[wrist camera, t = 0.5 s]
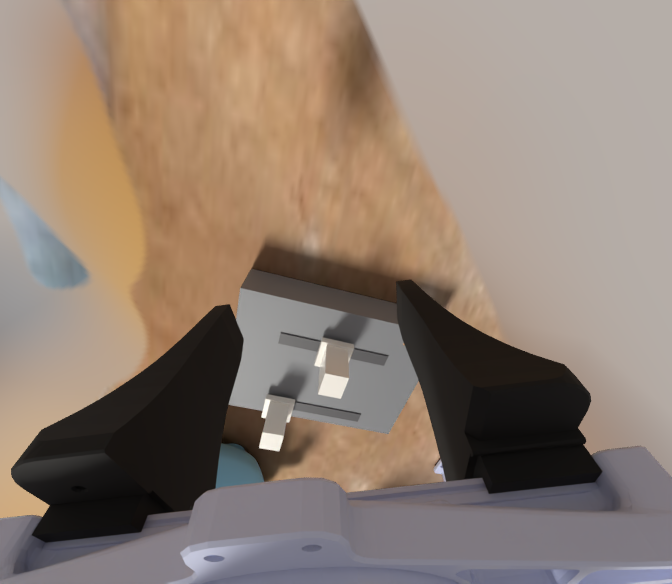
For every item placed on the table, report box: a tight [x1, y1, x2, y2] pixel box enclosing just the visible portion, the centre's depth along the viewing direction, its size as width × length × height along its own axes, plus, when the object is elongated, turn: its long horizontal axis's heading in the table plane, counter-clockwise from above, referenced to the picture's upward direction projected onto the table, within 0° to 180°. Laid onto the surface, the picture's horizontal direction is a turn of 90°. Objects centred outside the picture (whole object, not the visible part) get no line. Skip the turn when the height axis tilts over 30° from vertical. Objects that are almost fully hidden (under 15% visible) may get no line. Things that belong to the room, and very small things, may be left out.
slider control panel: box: [228, 269, 419, 434], centre depth 26 cm, size 12×15×3 cm
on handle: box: [259, 394, 295, 451], centre depth 25 cm, size 2×2×3 cm
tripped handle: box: [314, 337, 354, 399], centre depth 22 cm, size 2×2×3 cm
